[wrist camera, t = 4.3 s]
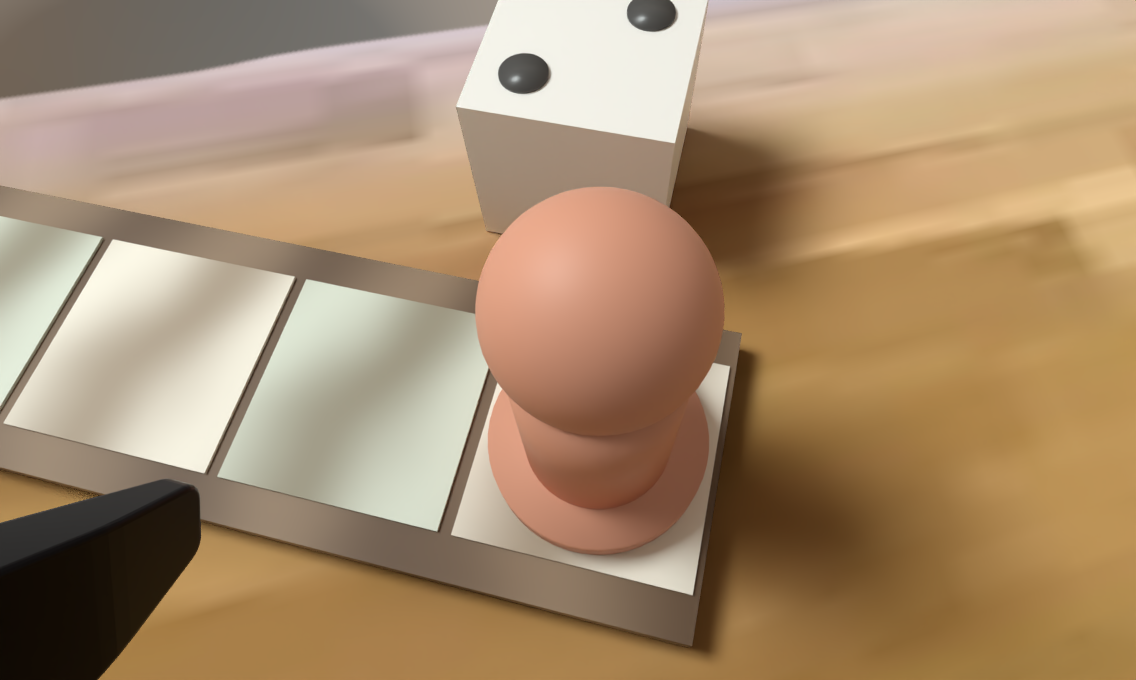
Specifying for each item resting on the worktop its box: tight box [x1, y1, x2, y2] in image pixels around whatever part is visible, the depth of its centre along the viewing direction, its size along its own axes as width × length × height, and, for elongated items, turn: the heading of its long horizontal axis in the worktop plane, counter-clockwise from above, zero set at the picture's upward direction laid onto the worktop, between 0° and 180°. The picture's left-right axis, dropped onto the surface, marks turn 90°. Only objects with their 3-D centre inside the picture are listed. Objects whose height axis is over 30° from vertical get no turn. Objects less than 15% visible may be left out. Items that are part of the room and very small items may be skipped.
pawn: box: [475, 187, 724, 555], centre depth 16 cm, size 6×6×10 cm
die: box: [456, 0, 709, 234], centre depth 23 cm, size 6×6×6 cm
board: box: [0, 186, 742, 648], centre depth 22 cm, size 28×9×1 cm, turn 76°
